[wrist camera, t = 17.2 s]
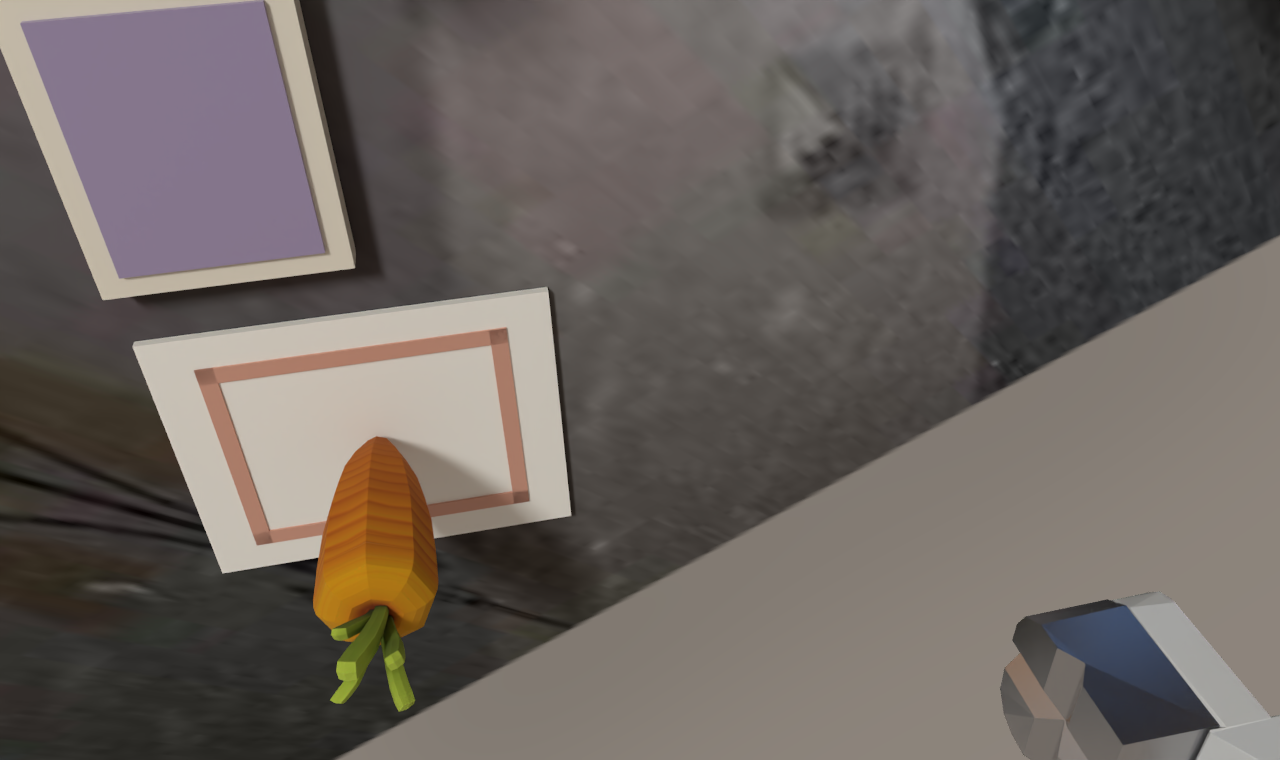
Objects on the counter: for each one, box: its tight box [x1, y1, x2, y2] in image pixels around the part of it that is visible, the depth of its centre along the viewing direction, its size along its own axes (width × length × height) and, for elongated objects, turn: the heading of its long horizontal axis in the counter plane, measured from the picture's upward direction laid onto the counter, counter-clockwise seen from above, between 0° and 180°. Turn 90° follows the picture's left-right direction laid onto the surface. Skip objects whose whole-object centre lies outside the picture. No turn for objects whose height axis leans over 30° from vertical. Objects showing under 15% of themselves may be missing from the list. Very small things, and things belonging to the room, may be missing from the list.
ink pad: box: [0, 0, 356, 300], centre depth 39 cm, size 10×12×2 cm
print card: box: [133, 287, 571, 573], centre depth 49 cm, size 18×14×1 cm
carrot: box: [313, 436, 438, 712], centre depth 43 cm, size 5×5×15 cm
